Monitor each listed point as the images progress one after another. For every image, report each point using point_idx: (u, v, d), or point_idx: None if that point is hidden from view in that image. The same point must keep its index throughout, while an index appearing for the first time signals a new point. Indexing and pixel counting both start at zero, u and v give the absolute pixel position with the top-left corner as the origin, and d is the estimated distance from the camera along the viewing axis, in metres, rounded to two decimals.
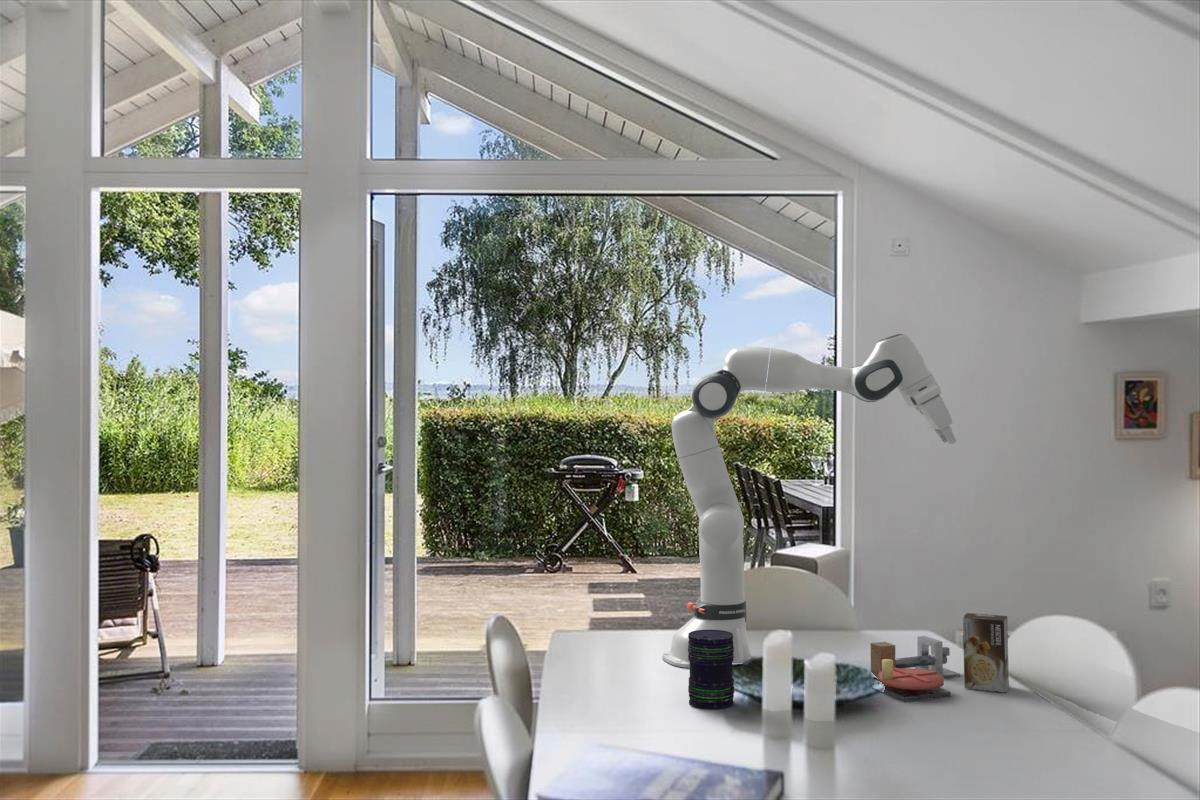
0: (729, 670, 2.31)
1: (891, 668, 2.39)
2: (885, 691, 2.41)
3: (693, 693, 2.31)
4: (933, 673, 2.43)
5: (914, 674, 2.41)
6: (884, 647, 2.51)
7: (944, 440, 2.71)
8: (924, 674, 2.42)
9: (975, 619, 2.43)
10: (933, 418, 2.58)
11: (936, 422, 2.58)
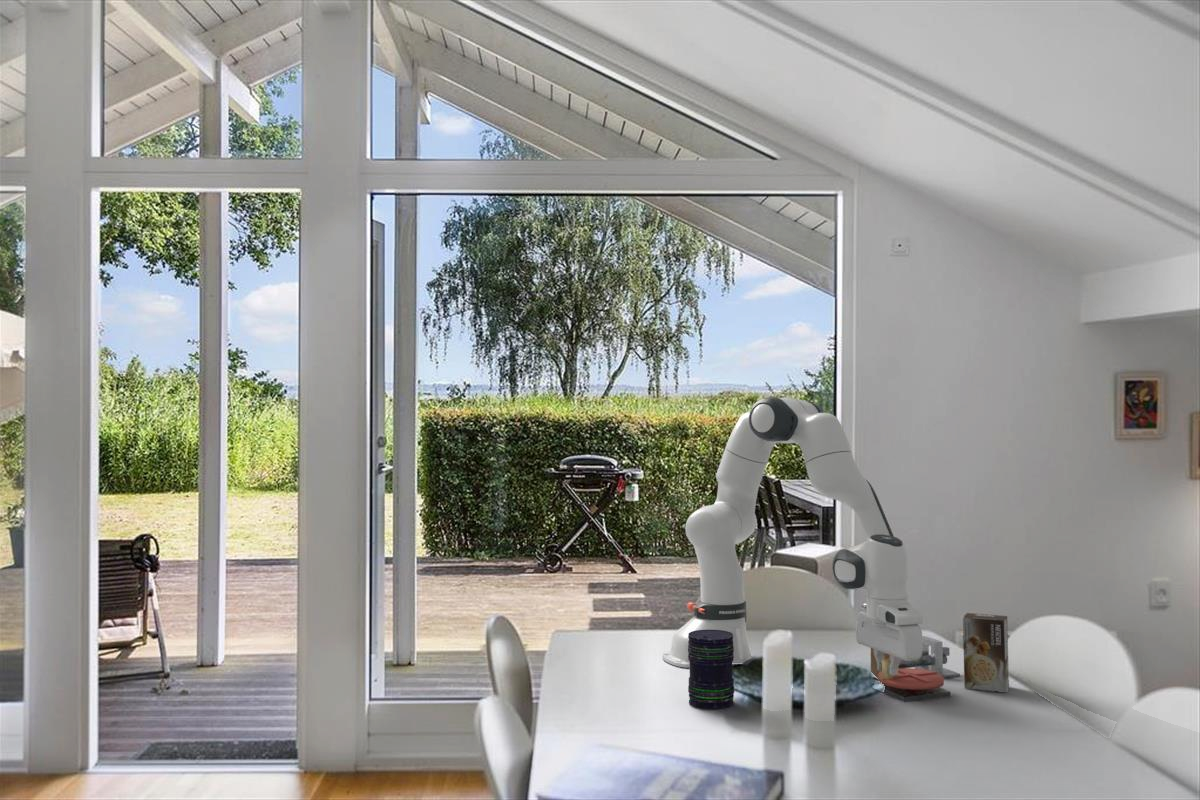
0: (729, 670, 2.31)
1: None
2: (885, 691, 2.41)
3: (693, 693, 2.31)
4: (933, 673, 2.43)
5: (914, 674, 2.41)
6: None
7: None
8: (924, 674, 2.42)
9: (975, 619, 2.43)
10: (907, 647, 2.30)
11: (908, 652, 2.30)
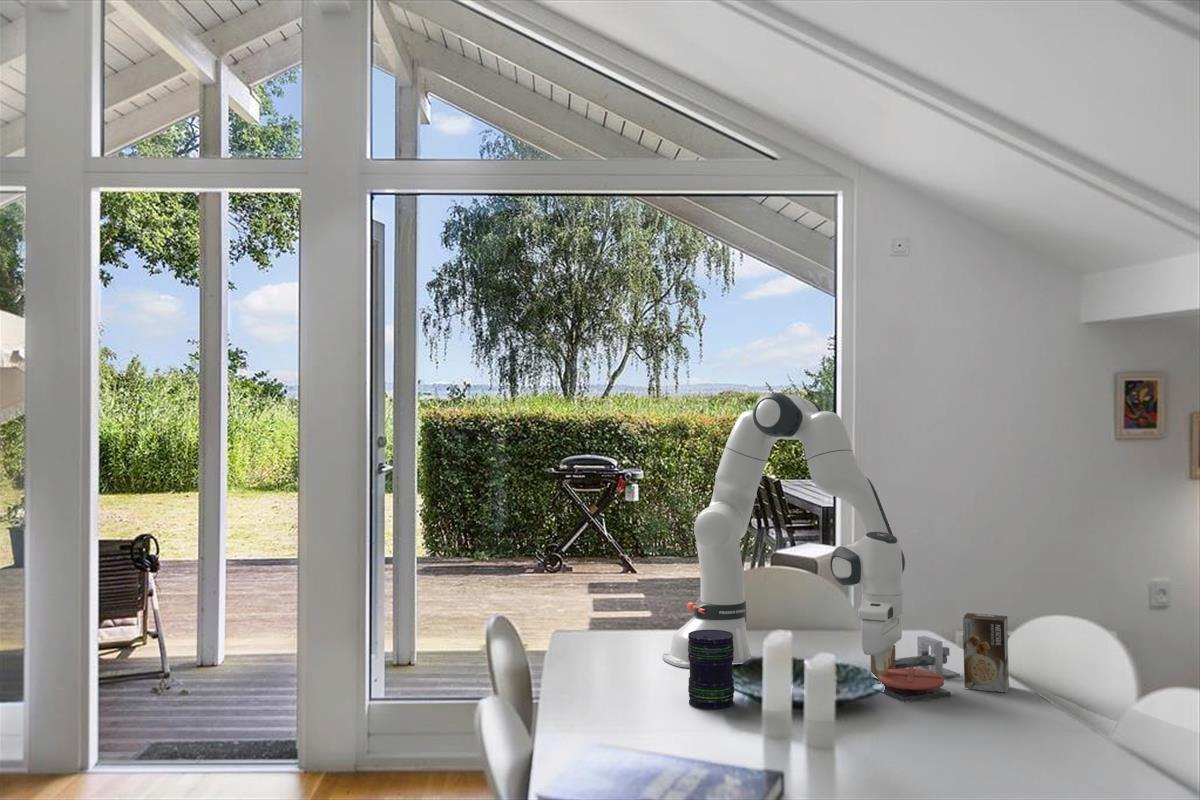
0: (729, 670, 2.31)
1: None
2: (885, 691, 2.41)
3: (693, 693, 2.31)
4: (936, 677, 2.39)
5: (913, 674, 2.41)
6: None
7: None
8: (925, 676, 2.40)
9: (975, 619, 2.43)
10: (862, 640, 2.36)
11: (863, 645, 2.36)
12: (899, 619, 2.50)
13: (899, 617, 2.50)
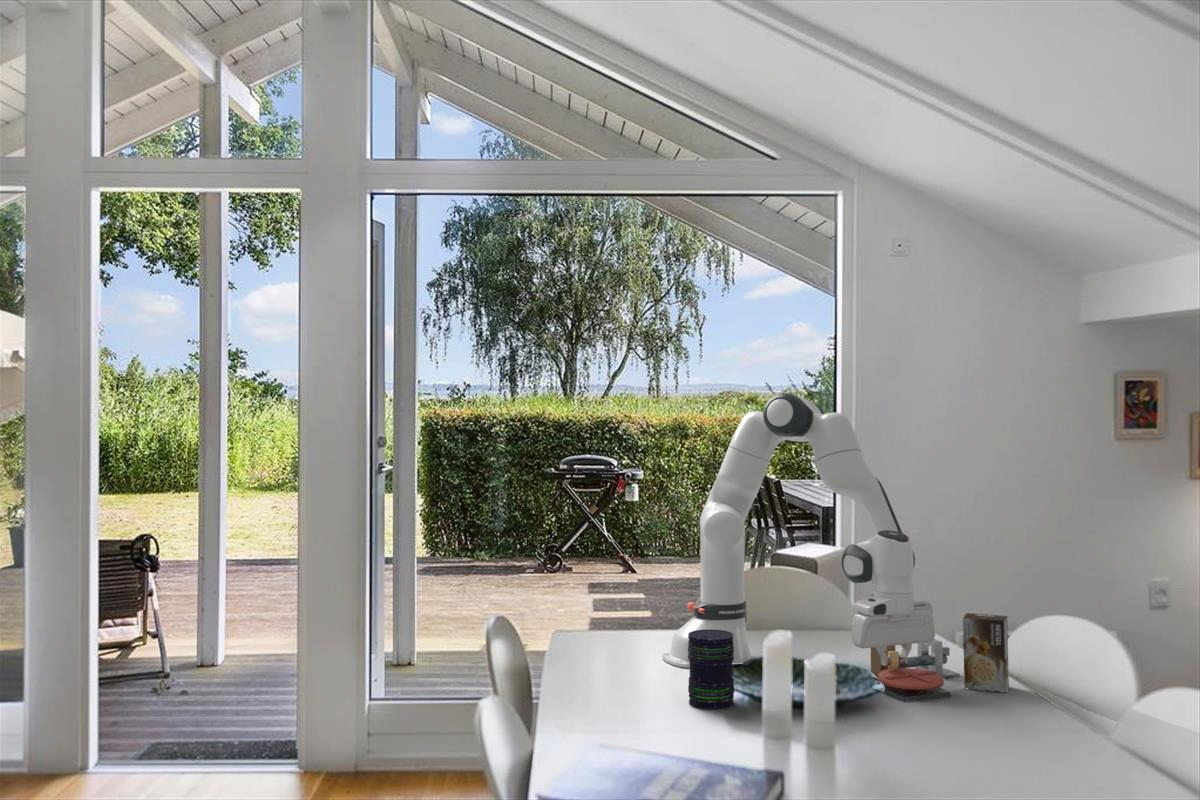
0: (729, 670, 2.31)
1: None
2: (885, 691, 2.41)
3: (693, 693, 2.31)
4: (925, 681, 2.36)
5: (910, 675, 2.41)
6: None
7: None
8: (917, 678, 2.39)
9: (975, 619, 2.43)
10: (852, 631, 2.46)
11: (852, 636, 2.46)
12: (926, 621, 2.48)
13: (926, 619, 2.48)
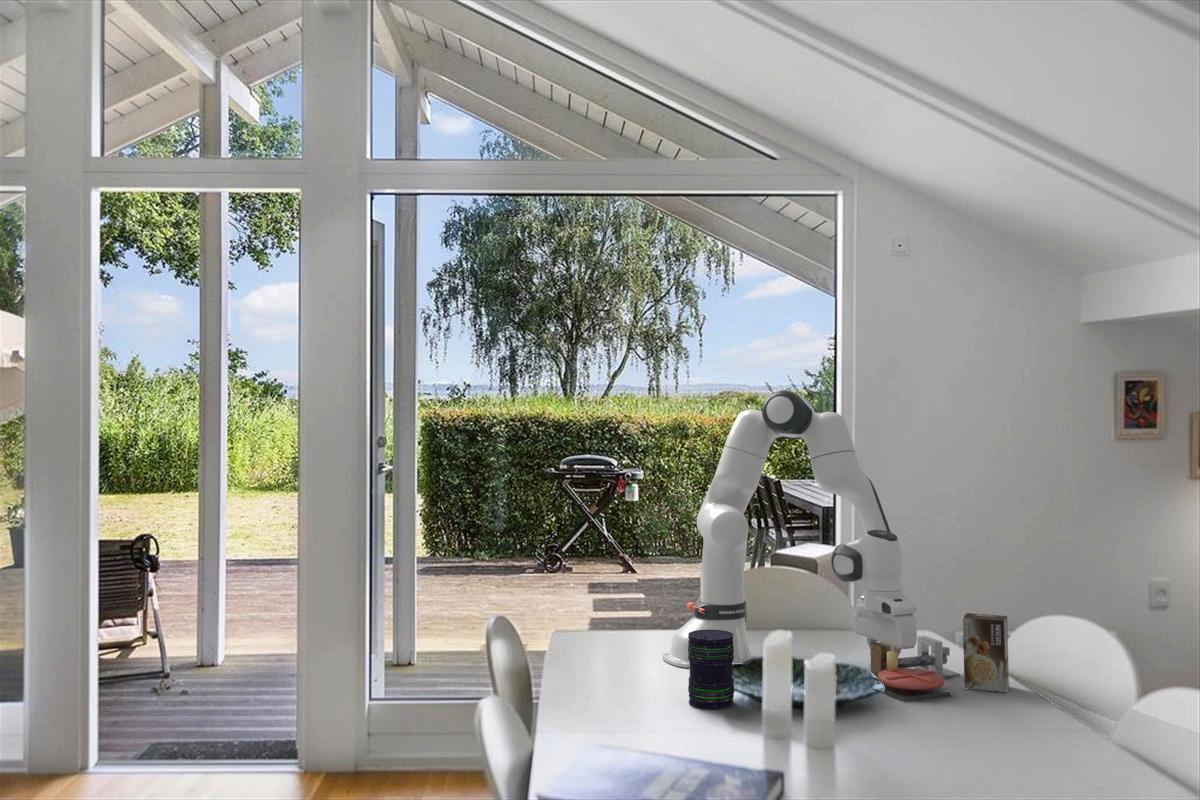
0: (729, 670, 2.31)
1: (889, 660, 2.46)
2: (885, 691, 2.41)
3: (693, 693, 2.31)
4: (926, 681, 2.36)
5: (910, 675, 2.41)
6: (884, 647, 2.51)
7: None
8: (918, 678, 2.39)
9: (975, 619, 2.43)
10: (902, 635, 2.44)
11: (903, 640, 2.43)
12: None
13: None
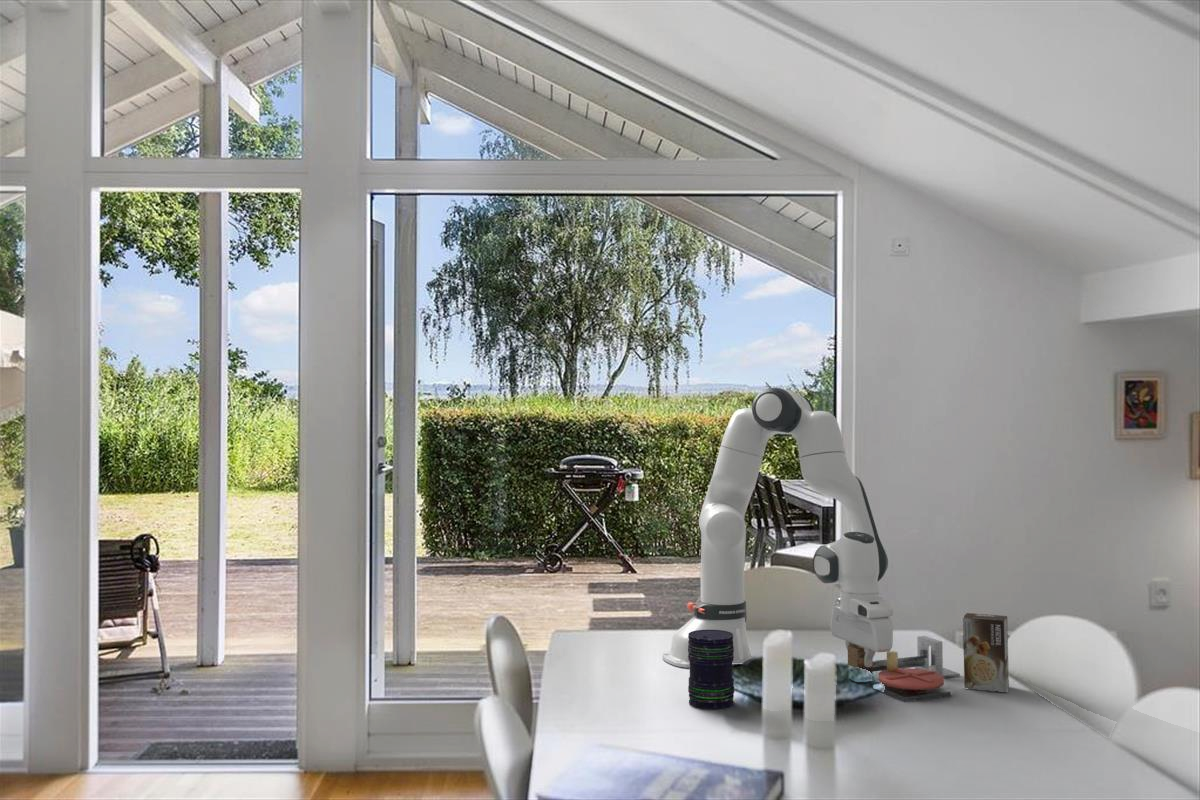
0: (729, 670, 2.31)
1: (888, 660, 2.46)
2: (885, 691, 2.41)
3: (693, 693, 2.31)
4: (926, 681, 2.36)
5: (910, 675, 2.41)
6: (861, 649, 2.49)
7: None
8: (918, 678, 2.39)
9: (975, 619, 2.43)
10: (878, 638, 2.41)
11: (879, 644, 2.41)
12: None
13: None
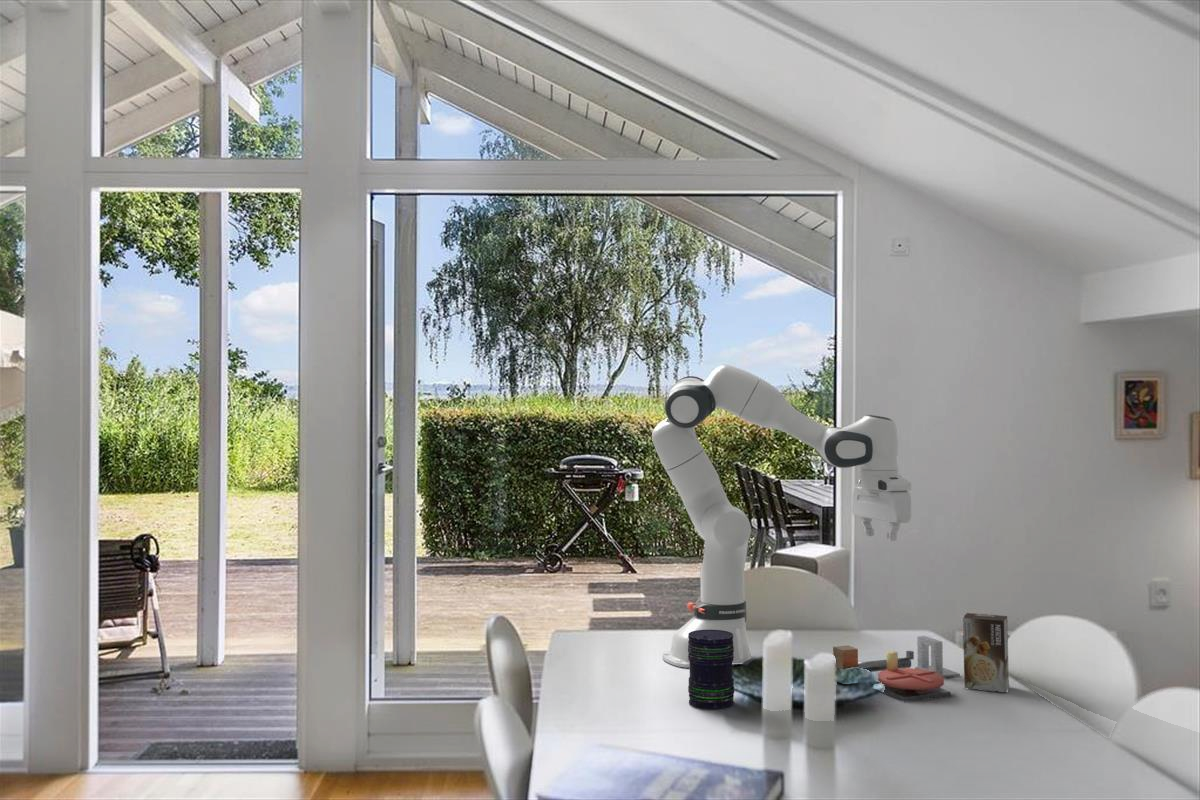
0: (729, 670, 2.31)
1: (888, 660, 2.46)
2: (885, 691, 2.41)
3: (693, 693, 2.31)
4: (926, 681, 2.36)
5: (910, 675, 2.41)
6: (846, 651, 2.48)
7: (869, 534, 2.70)
8: (918, 678, 2.39)
9: (975, 619, 2.43)
10: (897, 510, 2.56)
11: (898, 514, 2.56)
12: None
13: None
